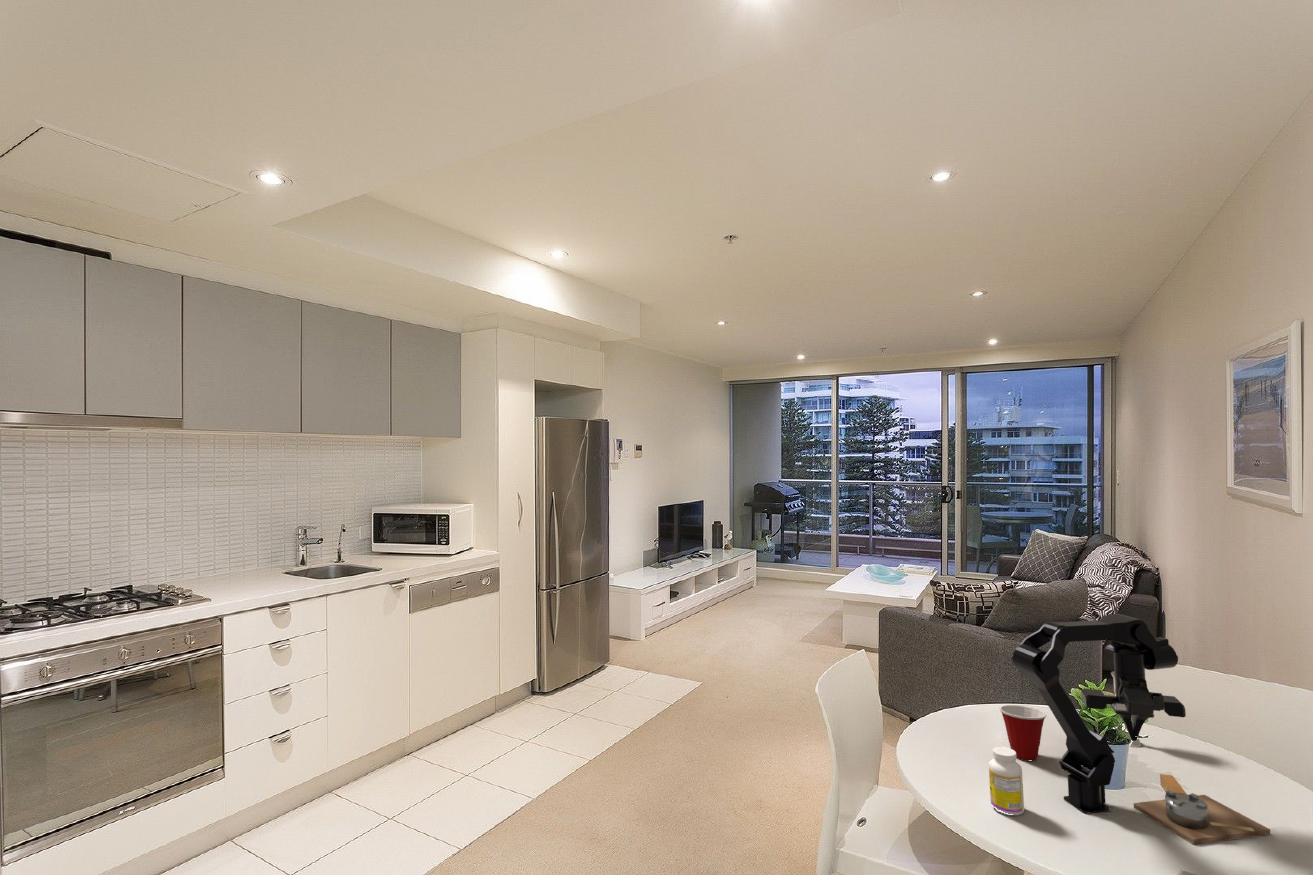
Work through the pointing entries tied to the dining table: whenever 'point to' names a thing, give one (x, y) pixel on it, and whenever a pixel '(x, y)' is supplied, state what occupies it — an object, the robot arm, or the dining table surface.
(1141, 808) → the base plate
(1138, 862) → the dining table surface
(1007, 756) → the supplement bottle
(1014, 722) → the plastic cup
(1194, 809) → the wood-handled metal tool
